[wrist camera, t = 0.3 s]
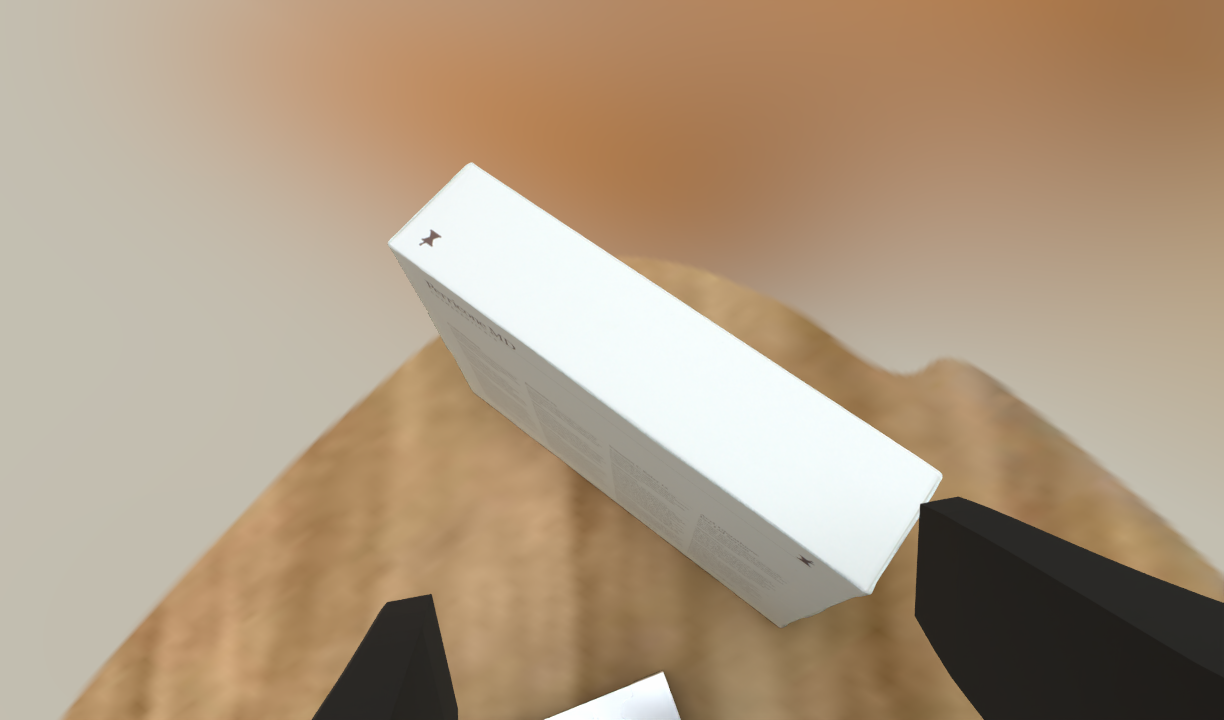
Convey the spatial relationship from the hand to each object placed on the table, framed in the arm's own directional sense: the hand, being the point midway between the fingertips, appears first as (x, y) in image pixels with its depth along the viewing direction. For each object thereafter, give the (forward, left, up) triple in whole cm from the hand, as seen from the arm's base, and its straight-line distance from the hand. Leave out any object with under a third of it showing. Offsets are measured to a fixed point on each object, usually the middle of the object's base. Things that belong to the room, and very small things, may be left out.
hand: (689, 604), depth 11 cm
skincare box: (+9, -2, -29) cm, 30 cm away
